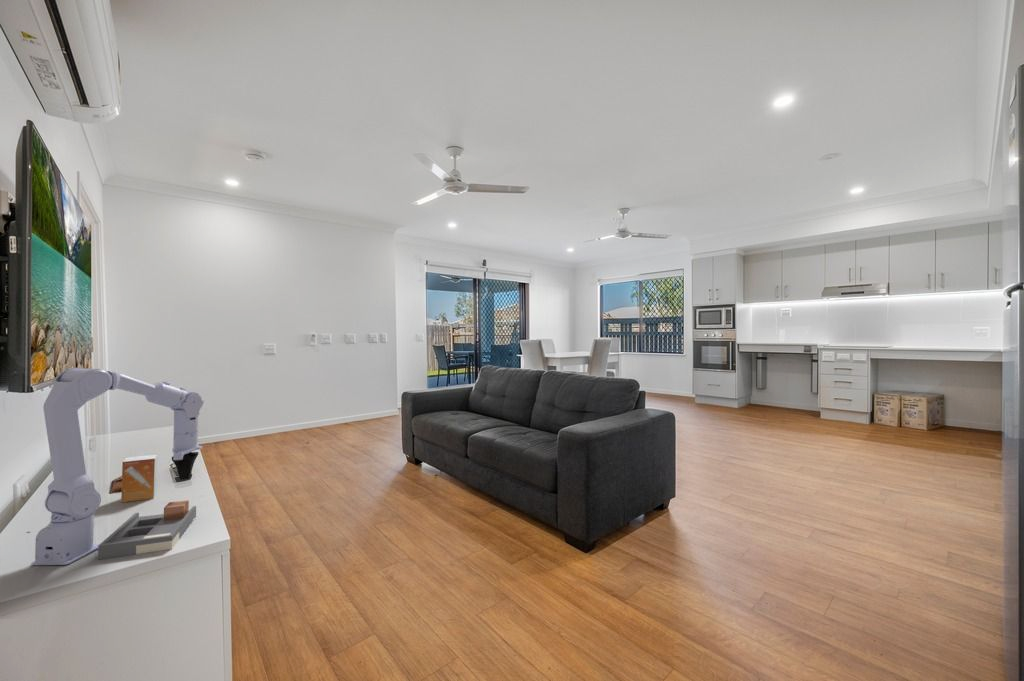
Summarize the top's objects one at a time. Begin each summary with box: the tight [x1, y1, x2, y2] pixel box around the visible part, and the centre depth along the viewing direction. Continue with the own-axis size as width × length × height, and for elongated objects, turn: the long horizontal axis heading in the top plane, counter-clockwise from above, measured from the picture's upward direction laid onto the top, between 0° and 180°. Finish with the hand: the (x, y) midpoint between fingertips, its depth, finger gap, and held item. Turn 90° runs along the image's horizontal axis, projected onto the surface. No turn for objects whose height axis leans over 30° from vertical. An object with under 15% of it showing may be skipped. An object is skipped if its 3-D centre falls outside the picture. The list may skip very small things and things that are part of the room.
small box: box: [120, 454, 159, 503], centre depth 140 cm, size 8×6×13 cm
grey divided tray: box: [97, 505, 197, 560], centre depth 113 cm, size 21×14×3 cm, turn 23°
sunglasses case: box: [109, 475, 122, 494], centre depth 153 cm, size 18×7×7 cm
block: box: [163, 500, 190, 521], centre depth 121 cm, size 4×4×4 cm
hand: (184, 478), depth 127 cm, fingers closed
